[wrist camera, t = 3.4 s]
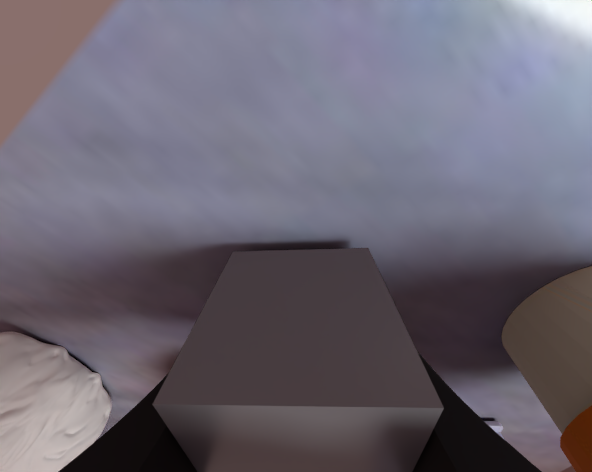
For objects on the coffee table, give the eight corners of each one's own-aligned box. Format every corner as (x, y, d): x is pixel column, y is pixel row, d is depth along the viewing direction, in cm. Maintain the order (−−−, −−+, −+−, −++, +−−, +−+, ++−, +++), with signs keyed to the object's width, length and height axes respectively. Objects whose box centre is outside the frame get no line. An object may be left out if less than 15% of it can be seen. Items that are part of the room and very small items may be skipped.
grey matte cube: (368, 247, 11) (443, 407, 5) (357, 339, 14) (396, 504, 8) (232, 251, 11) (152, 404, 5) (252, 339, 14) (214, 497, 8)
